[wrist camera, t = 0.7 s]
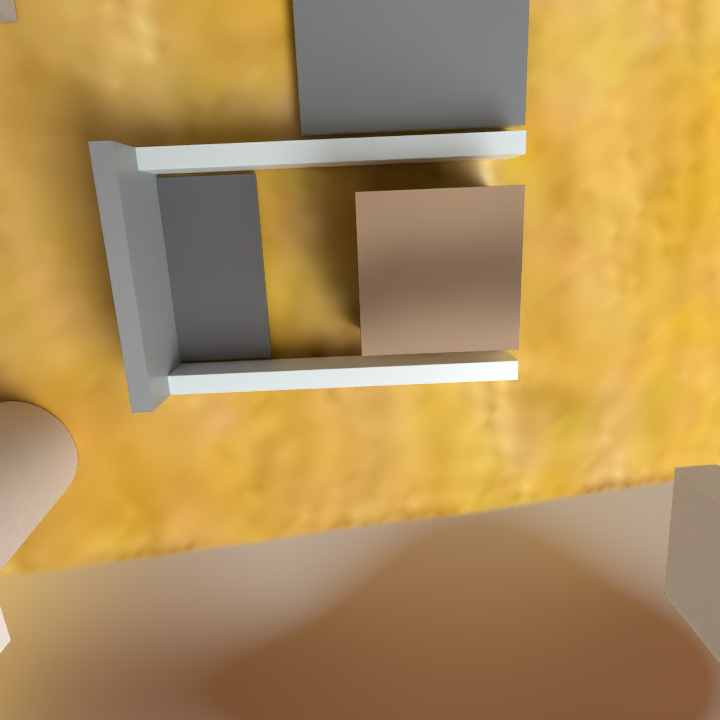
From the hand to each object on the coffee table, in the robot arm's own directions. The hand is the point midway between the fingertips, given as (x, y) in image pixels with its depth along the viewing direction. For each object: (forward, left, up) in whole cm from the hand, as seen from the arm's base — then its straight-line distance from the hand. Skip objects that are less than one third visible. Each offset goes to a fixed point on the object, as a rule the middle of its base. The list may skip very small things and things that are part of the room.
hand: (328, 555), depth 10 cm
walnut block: (-4, +4, -20) cm, 21 cm away
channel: (-4, 0, -20) cm, 21 cm away
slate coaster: (-16, +4, -20) cm, 26 cm away
